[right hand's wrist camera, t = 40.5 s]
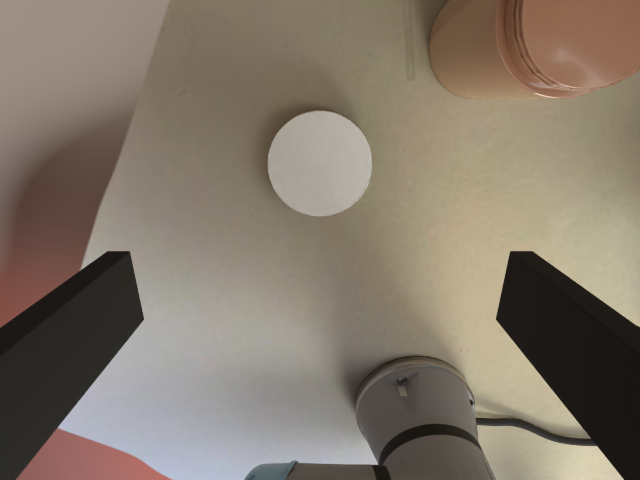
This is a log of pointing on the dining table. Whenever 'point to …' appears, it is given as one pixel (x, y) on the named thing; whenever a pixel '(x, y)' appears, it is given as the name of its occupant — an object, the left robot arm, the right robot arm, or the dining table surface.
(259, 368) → the dining table surface
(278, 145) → the lid
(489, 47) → the jar
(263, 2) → the dining table surface
